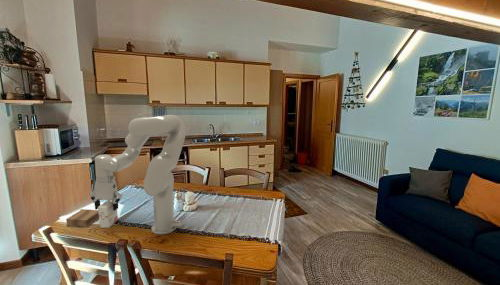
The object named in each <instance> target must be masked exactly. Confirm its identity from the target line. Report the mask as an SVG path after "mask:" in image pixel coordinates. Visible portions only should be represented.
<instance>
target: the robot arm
mask: <svg viewBox="0 0 500 285" xmlns="http://www.w3.org/2000/svg"><path fill="white" fill-rule="evenodd" d="M127 130H128V134H127V136H126V137H125V139H124V142H125V145H126V146H127V147H126V148H125V149H124V151H123V152H122V153H120V154H118V155H114V156H113V157H112V156H111V155H110V154H107V153H105V154H99V155H96V156H95V158H94V167H95V170H94V171H95V183H94V188H93V189H94V190H93V191H91V192H90V193H88V195H89V197H90V199H91V200H92V203H94V210H98V207H99V206H100V205H101V201H102V200H104V201H107V200H112V201H113V203H114V204H113V210H114V211H115V210H116V209H117V210H118V209H119V202H120V201H121V200H122V198H123V194H122V193H120V192H119V191H118V186H117V183H116V180H115V179H116V176H114V173H116V172H117V173H118V172H120V171H122V170H124V169H126V168H129V167H130V166H132V164H133V163H134V162H135V161H136V159H137V158H139V155H140V154H141V151H142V148H143V146H144V145H145V144H146V142H147V141H148V140H149V138H150V137H154V136H156V137H157V136H163V135H167V134H168V135H167V137H166V139H165V141H164V143H163V144H164V145H163V148H162V150H161V151H160V153H159V154H157V155H155V156H153V157H152V158H151V160H150V162H149V164H148V167H147V169H146V173H145V177H144V180H143V184H142V185H143V191H144V192H145V194H147V196H151V197H152V198H153V200H152V201H153V219H154V224H153V225H151V232H152V233H153V234H155V235H166V234H168V235H169V234H170V233H173V232H174V231H176V229H177V228H181V227H182V225H183V224H182V223H181V222H182V221H181V220H176V217H175V216H174V183H175V178H174V174H173V173H172V170H174V169H175V168H176V167H177V164H178V162H179V159H180V155H181V153H182V150H183V147H184V143H185V139H186V137H187V136H186V135H187V134H186V133H187V129H186V126H185V123H184V121H183V120H182V119H181V118H180V117H179V116H178V115H176V114H175V115H174V114H167V115H159V116H150V117H149V116H144V117H136V118H134V119H132V120H131V121H130V122H129V124H128V127H127ZM114 199H115V200H116V201H115V200H114ZM100 200H101V201H100Z"/></svg>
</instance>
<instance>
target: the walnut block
mask: <svg viewBox="0 0 500 285" xmlns="http://www.w3.org/2000/svg"><path fill="white" fill-rule="evenodd" d="M65 220H66V227H67V228H69V227H70V228H85V229H86V228H90V226H91V225H93V224H94V223H96V222H98V221H99V212H98V209H97V210H96V209H83V208H82V209H80V210H79V211H77V212H75V213H74V214H72V215H71V216H69V217H67V218H66V219H65ZM95 221H96V222H95Z"/></svg>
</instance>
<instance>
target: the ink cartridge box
mask: <svg viewBox="0 0 500 285" xmlns="http://www.w3.org/2000/svg"><path fill="white" fill-rule="evenodd" d="M114 200H115V199H114ZM115 201H116V200H115ZM113 204H114V203H113V201H112V200H105V202H103V203H102V204H100V206H99V207H98V209H97V210H98V212H99V220H98V221H99V228H104V229H106V228H108V229H109V228H110V227H112V226H114V224H115V223H116V222H117V221H118V220H119V216H118V214H119V213H118V209H116V210H115V211H114V210H113Z"/></svg>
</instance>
